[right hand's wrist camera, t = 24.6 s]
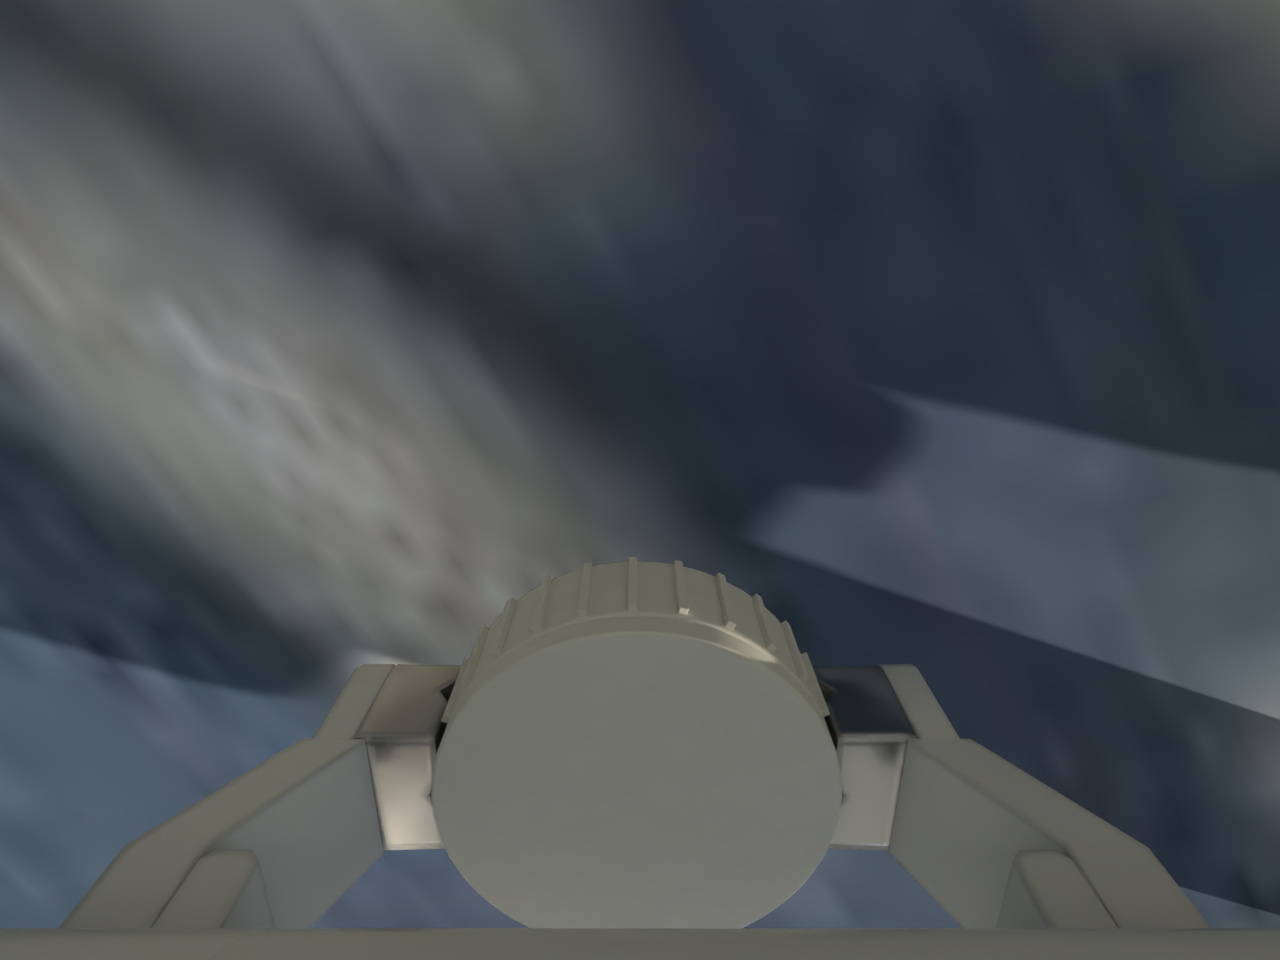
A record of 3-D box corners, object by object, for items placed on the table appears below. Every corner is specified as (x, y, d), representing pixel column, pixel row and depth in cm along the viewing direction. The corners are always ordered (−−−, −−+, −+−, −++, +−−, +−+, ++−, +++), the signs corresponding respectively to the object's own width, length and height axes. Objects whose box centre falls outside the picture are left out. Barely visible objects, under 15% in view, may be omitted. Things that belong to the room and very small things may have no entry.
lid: (381, 700, 10) (334, 793, 9) (656, 477, 9) (659, 537, 7) (621, 896, 12) (618, 1008, 10) (886, 726, 10) (931, 822, 9)
